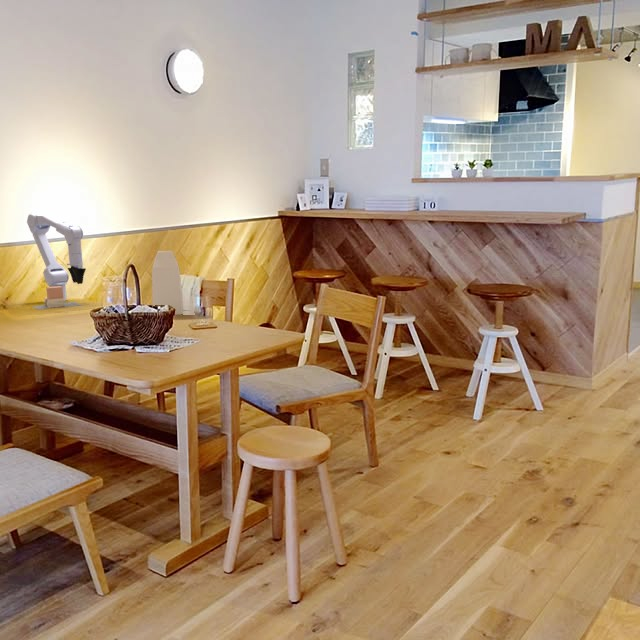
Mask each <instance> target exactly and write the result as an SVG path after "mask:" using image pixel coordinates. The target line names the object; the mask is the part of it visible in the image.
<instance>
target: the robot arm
mask: <svg viewBox="0 0 640 640" xmlns="http://www.w3.org/2000/svg"><path fill="white" fill-rule="evenodd" d="M26 219H27V220H26V223H27V225H28V229H29V230H30V232H31V234H32V237H33V238H34V241H35V244H36V246H37V249H38V251H39V253H40V256H41V257H42V260H43V262H44V266H45V269H44V270H43V272H42V273H43V276H44V281H45V283H46V285H47V286H48V287H56V286H61V287H62V288H63V298H64V302H65V301H68V300H67V288H66V287H67V286H66V285H68V284H67V283H68V282H69V279H70V278H71V280H72V283H73V284H74V283H77V284H78V285H82V284H83V283H84V275H85V272H86V268H84V267H83V265H84V262H83V261H84V260H83V250H82V240H81V239H82V238H83V236H84V232H83V230H82V228H81V227H80V226H74V225H73V224H70V223H68V222H67V221H66V220H58V219H57V218H55V217H54V216H53V215H52V214H51V213H49V212H44V213H40V212H39V213H32V212H31V213H29V214H28V215H27V218H26ZM50 227H53V228H55V231H56V232H57V233H59V234H61V235H62V236H64V238H65V240H66V244H67V248H68V249H67V251H68V260H69V262H68V263H66V266H70V267H67V270H68V271H67V270H66V269H65V267H64V266H63V265H61V264H60V263H58V261H57V259H56V256H55V255H54V252H53V249H52V247H51V245H50V242H49V240H48V238H47V235H46V233H48V232H49V230H50V229H51V228H50ZM68 272H69V273H68ZM69 274H70V275H69ZM70 276H71V277H70Z"/></svg>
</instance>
